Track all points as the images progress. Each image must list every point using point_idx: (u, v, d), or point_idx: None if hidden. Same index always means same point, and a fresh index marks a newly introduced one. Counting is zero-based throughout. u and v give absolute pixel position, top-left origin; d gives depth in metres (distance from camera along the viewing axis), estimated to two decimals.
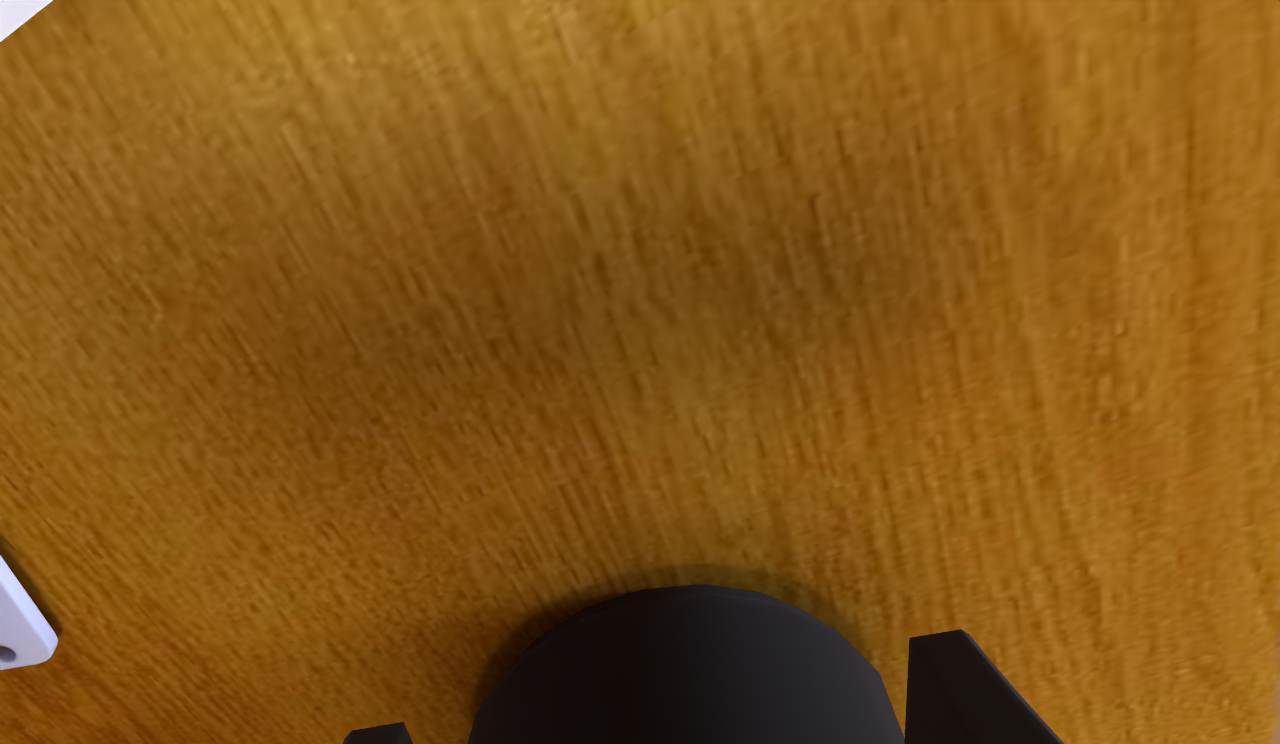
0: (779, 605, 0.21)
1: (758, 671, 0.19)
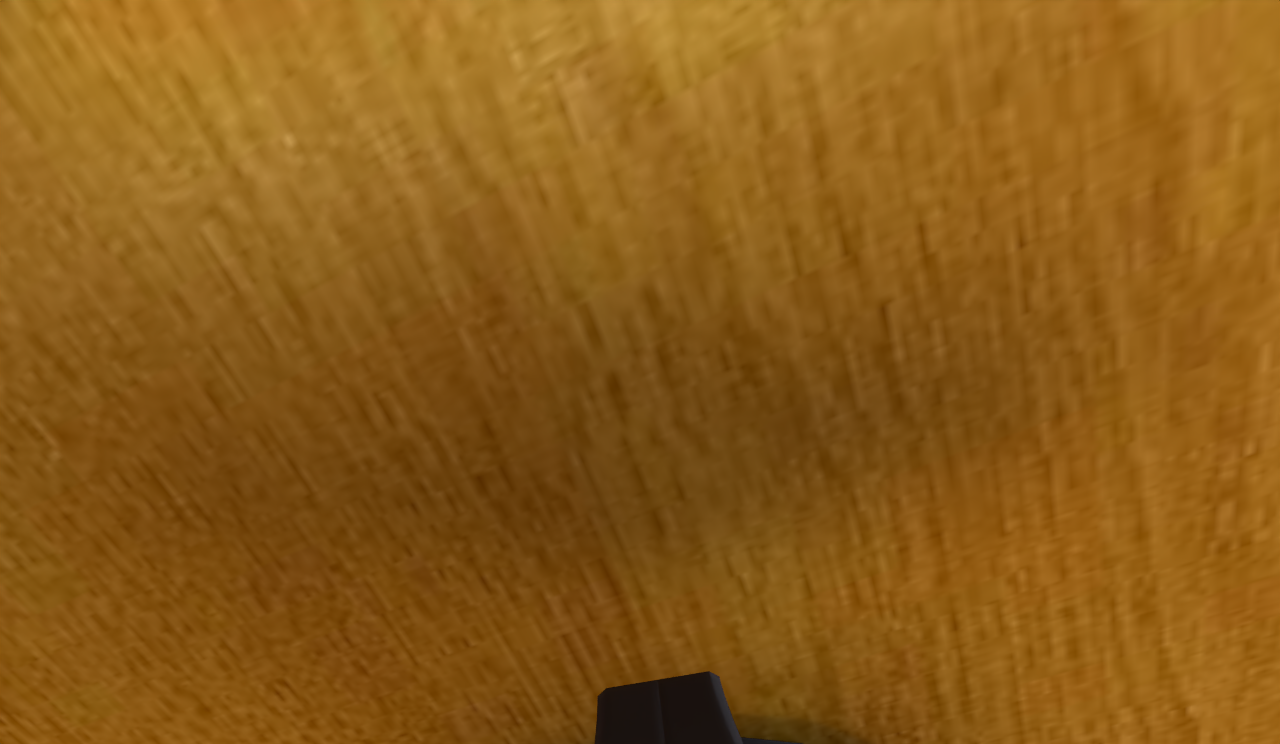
0: None
1: None
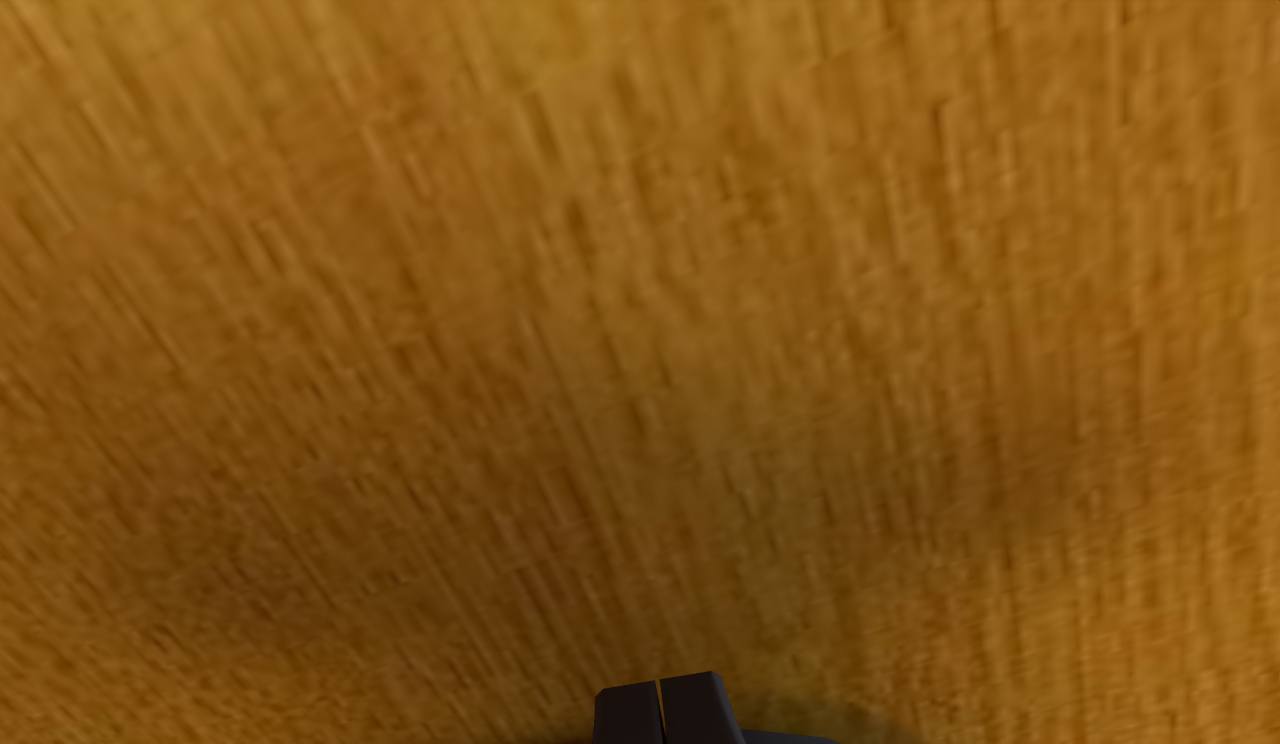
0: None
1: None
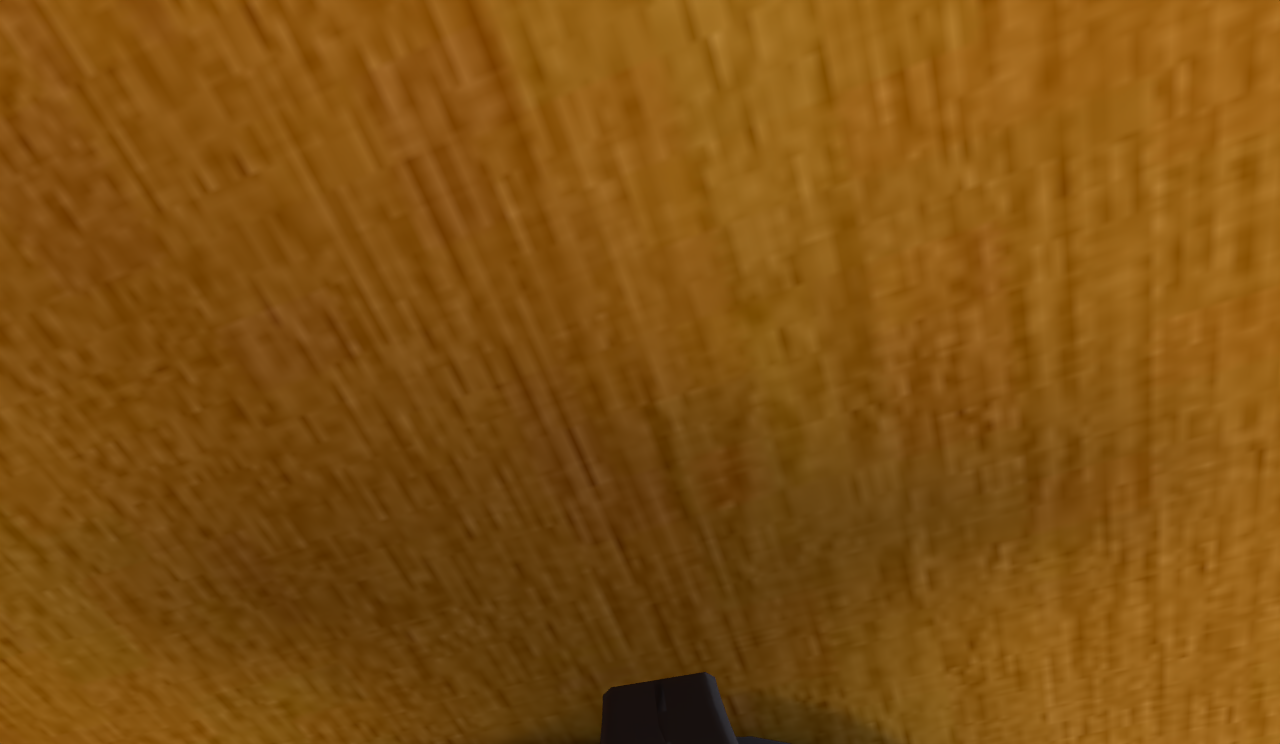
0: None
1: None
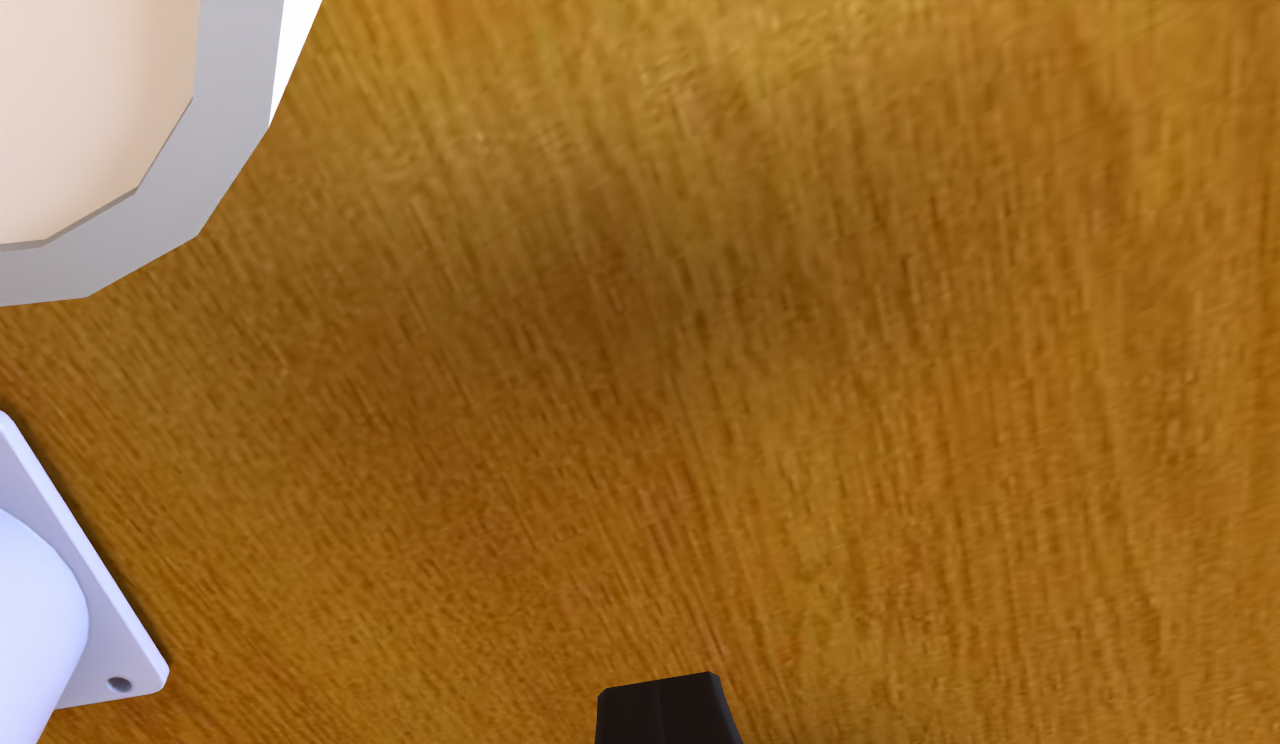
0: None
1: None
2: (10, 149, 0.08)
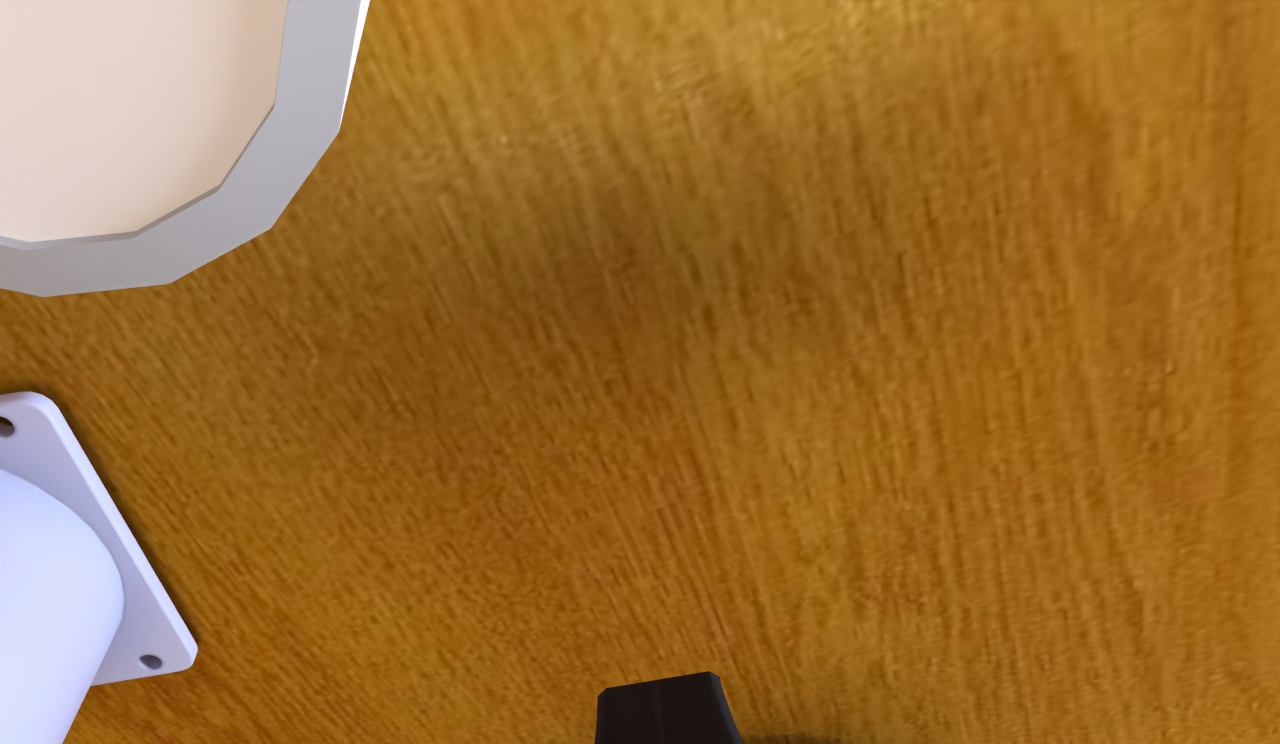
0: None
1: None
2: (109, 150, 0.09)
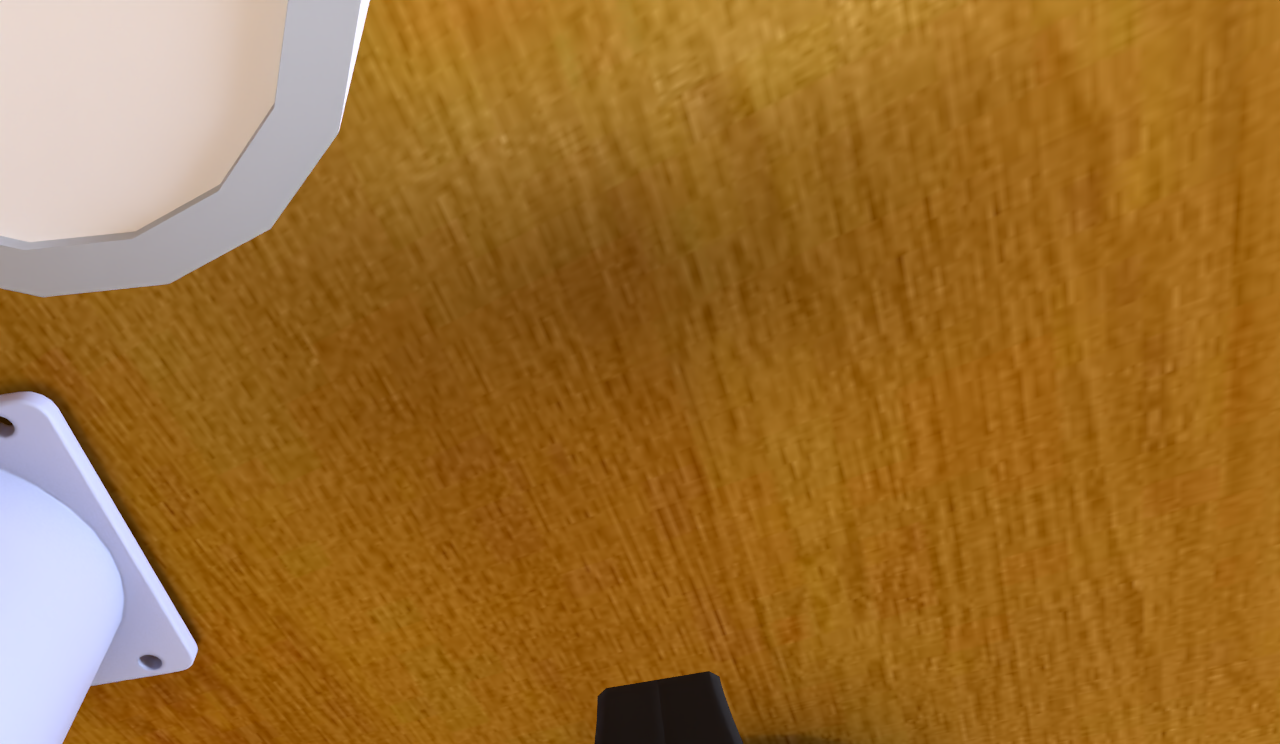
0: None
1: None
2: (109, 150, 0.09)
